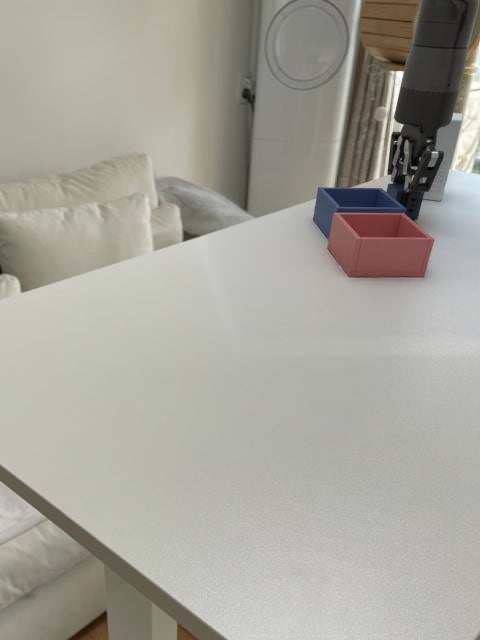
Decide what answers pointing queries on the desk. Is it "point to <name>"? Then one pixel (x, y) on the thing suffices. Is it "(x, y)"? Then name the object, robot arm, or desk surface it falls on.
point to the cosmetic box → (447, 144)
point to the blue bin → (351, 204)
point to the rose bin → (379, 245)
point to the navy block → (397, 194)
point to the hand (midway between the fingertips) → (399, 213)
